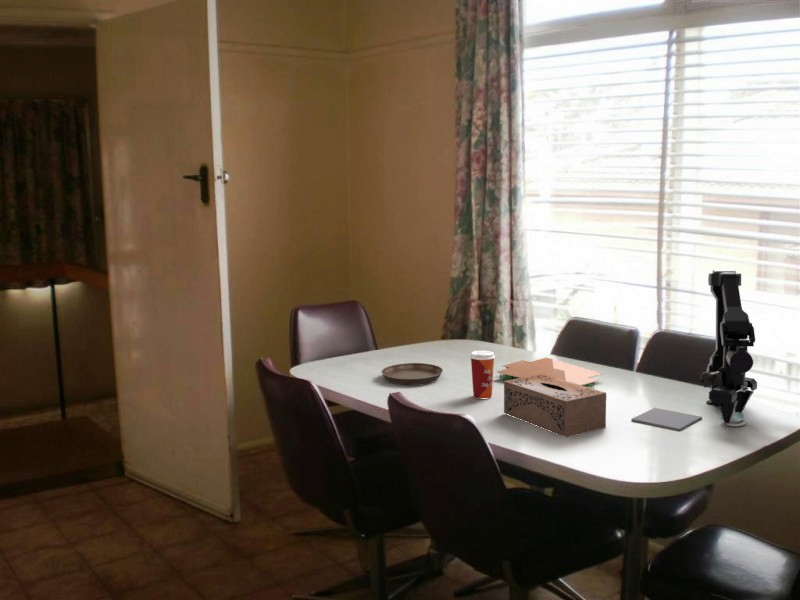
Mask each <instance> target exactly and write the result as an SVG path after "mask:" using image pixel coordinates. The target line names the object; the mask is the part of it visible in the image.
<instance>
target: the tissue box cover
mask: <svg viewBox="0 0 800 600" xmlns="http://www.w3.org/2000/svg"><path fill="white" fill-rule="evenodd" d="M503 404H504V405H503V414H504V413H506V414H509V415H511V416H514V417H516V418H519V419H522V420H524V421H527V422H529V423H532V424H534V425H537V426H539V427H538V428H540V427H542V428H544V429H543V430H545V429H547V430H546V431H548V430H550V431H552V432H551V433H553V432H554V433H553V434H556V433H557V434H556V435H558V434H559V436H561V435H562V436H561V437H563V436H565V437H564V438H569V437H573V436H578V435H581V434H585V433H589V432H592V431H593V432H594V431H597V430H602V429H606V426H607V425H606V422H607V392H604V391H601V390H599V389H595V388H594V389H592V388H591V387H590V388H589V386H588V387H587V386H586V387H585V386H584V385H583V386H582V385H578V384H575V383H572V382H568V381H565V380H562V379H558V378H555V377H551V376H548V375H545V374H539V375H534V376H529V377H523V378H518V379H516V378H513V380H512V379H508V381H507V380H503ZM511 416H510V417H511ZM516 418H515V419H516ZM519 419H518V420H519ZM524 421H523V422H524ZM529 423H528V424H529ZM532 424H531V425H532ZM534 425H533V426H534ZM537 426H536V427H537ZM542 428H541V429H542ZM550 431H549V432H550ZM577 434H578V435H577Z"/></svg>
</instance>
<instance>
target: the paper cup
mask: <svg viewBox="0 0 800 600" xmlns="http://www.w3.org/2000/svg"><path fill="white" fill-rule="evenodd" d="M494 353H495V352H493V351H490V350H474V351H472V352H471V354H470V356H469V358H470V363H471V366H470V367H471V380H472V392H473V398H474V397H476V398H490V397H491V396H493V383H494V382H493V381H494V365H495V364H494V363H495V358H496V356H495V354H494ZM476 398H475V399H476ZM491 398H492V397H491ZM491 398H490V399H491Z"/></svg>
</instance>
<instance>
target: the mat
mask: <svg viewBox="0 0 800 600" xmlns="http://www.w3.org/2000/svg"><path fill="white" fill-rule="evenodd" d="M702 419H703V418H702V416H701V415H695V414H691V413H685V412H679V411H673V410H669V409H663V408H659V407H652V408H651V409H650V410H647V411H645V412H643V413H641V414H638V415H636V416H634V417H632V418H631V422H634V423H635V422H636V423H639V424H645V425H650V426H653V425H654V426H653V427H658V426H659V428H663V427H664V428H663V429H668V428H669V429H668V430H674V431H678V430H680V431H682V430H684V429H686V428H687V426H688V427H689V425H690V426H691V425H693V424H695V423H697V422H699V421H700V420H702ZM698 420H699V421H698ZM696 421H697V422H696ZM685 427H686V428H685ZM683 428H684V429H683ZM681 429H682V430H681Z"/></svg>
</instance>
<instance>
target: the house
mask: <svg viewBox="0 0 800 600" xmlns="http://www.w3.org/2000/svg"><path fill="white" fill-rule="evenodd" d="M502 367H505V369H501V370H497V371H496V373H498V374H499V380H500V379H501V378H502V379H503V378H504V381H508V380H509V378H510V377H511V380H513V379H514V378H515V377H516V378H515V379H518V378H523V377H529V376H534V375H539V374H545V375H548V376H551V377H555V378H558V379H562V380H565V381H568V382H572V383H575V384H578V385H582V386H585V387H589V388H592V389H595V384H594V383H595V382H598V381H599V380H598V379H594V377H597V376H601V375H603V373H602V372H599V371H595V370H592V369H588V368H585V367H581V366H579V365H574V364H572V363H567V362H564V361H561V360H558V359H554V358H549V357H542V358H540V359H535V360H532V361H529V360H524V359H521V360H519V361H518V360H517V361H515V362H511V363H508V364H504V365H502ZM509 375H510V376H509ZM508 377H509V378H508Z"/></svg>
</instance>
